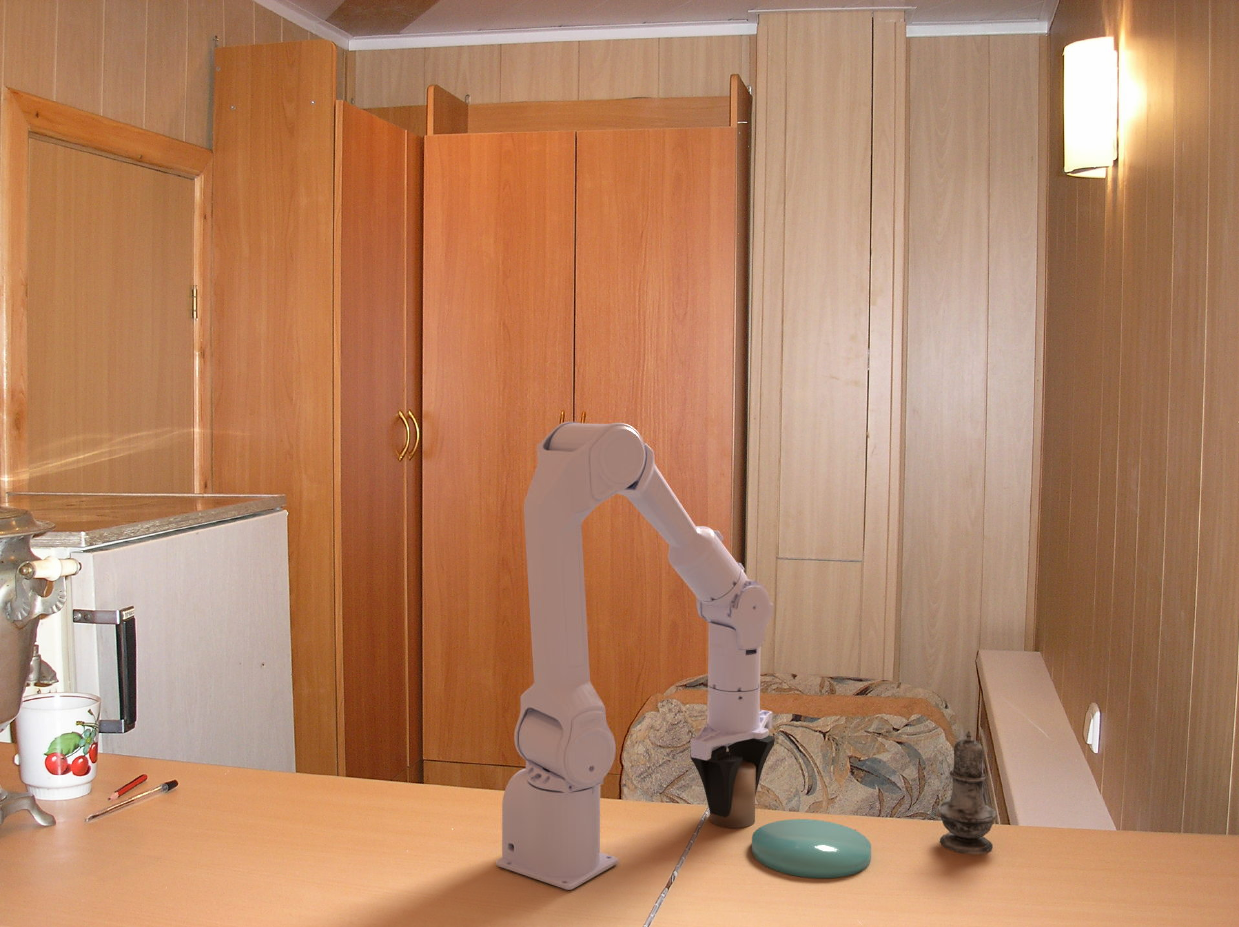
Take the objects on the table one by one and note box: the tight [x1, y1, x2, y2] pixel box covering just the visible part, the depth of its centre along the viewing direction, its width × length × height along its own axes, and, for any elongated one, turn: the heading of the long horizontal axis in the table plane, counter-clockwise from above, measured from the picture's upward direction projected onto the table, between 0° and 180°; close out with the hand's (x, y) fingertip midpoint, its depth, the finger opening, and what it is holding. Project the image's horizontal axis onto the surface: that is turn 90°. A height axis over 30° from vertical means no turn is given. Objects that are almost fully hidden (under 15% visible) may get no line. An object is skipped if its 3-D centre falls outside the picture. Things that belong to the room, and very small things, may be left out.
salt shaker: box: [937, 730, 997, 855], centre depth 113 cm, size 6×6×12 cm
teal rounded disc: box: [751, 818, 872, 879], centre depth 111 cm, size 12×12×1 cm
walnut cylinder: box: [709, 760, 756, 829], centre depth 119 cm, size 5×5×6 cm
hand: (732, 806), depth 119 cm, fingers closed on walnut cylinder, 5 cm apart
